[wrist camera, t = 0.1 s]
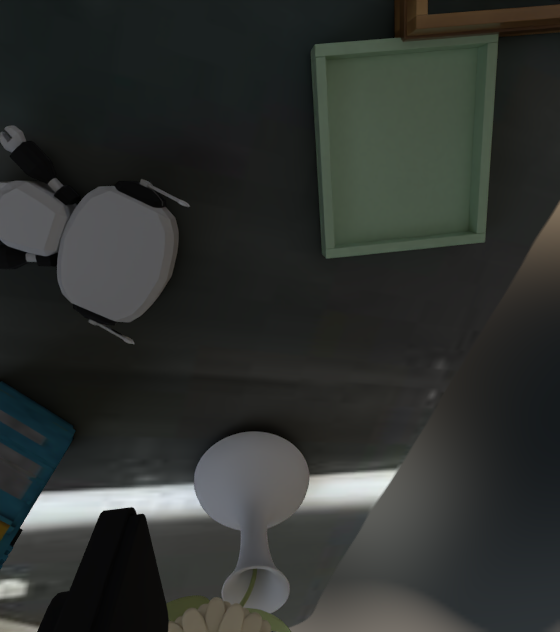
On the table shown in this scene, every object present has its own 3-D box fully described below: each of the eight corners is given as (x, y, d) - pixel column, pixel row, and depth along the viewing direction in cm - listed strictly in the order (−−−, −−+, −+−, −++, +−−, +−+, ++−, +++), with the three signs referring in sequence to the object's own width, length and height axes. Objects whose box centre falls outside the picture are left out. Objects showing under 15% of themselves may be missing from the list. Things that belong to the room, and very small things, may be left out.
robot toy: (-17, 260, 38) (151, 332, 40) (-55, 271, 33) (136, 351, 35) (24, 118, 34) (204, 204, 36) (-12, 109, 30) (195, 207, 32)
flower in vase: (325, 443, 45) (416, 746, 22) (279, 526, 48) (314, 872, 25) (205, 400, 43) (160, 694, 19) (163, 491, 46) (80, 842, 22)
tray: (310, 51, 34) (314, 44, 32) (484, 37, 34) (499, 29, 32) (321, 254, 39) (326, 258, 37) (473, 238, 40) (485, 242, 38)
